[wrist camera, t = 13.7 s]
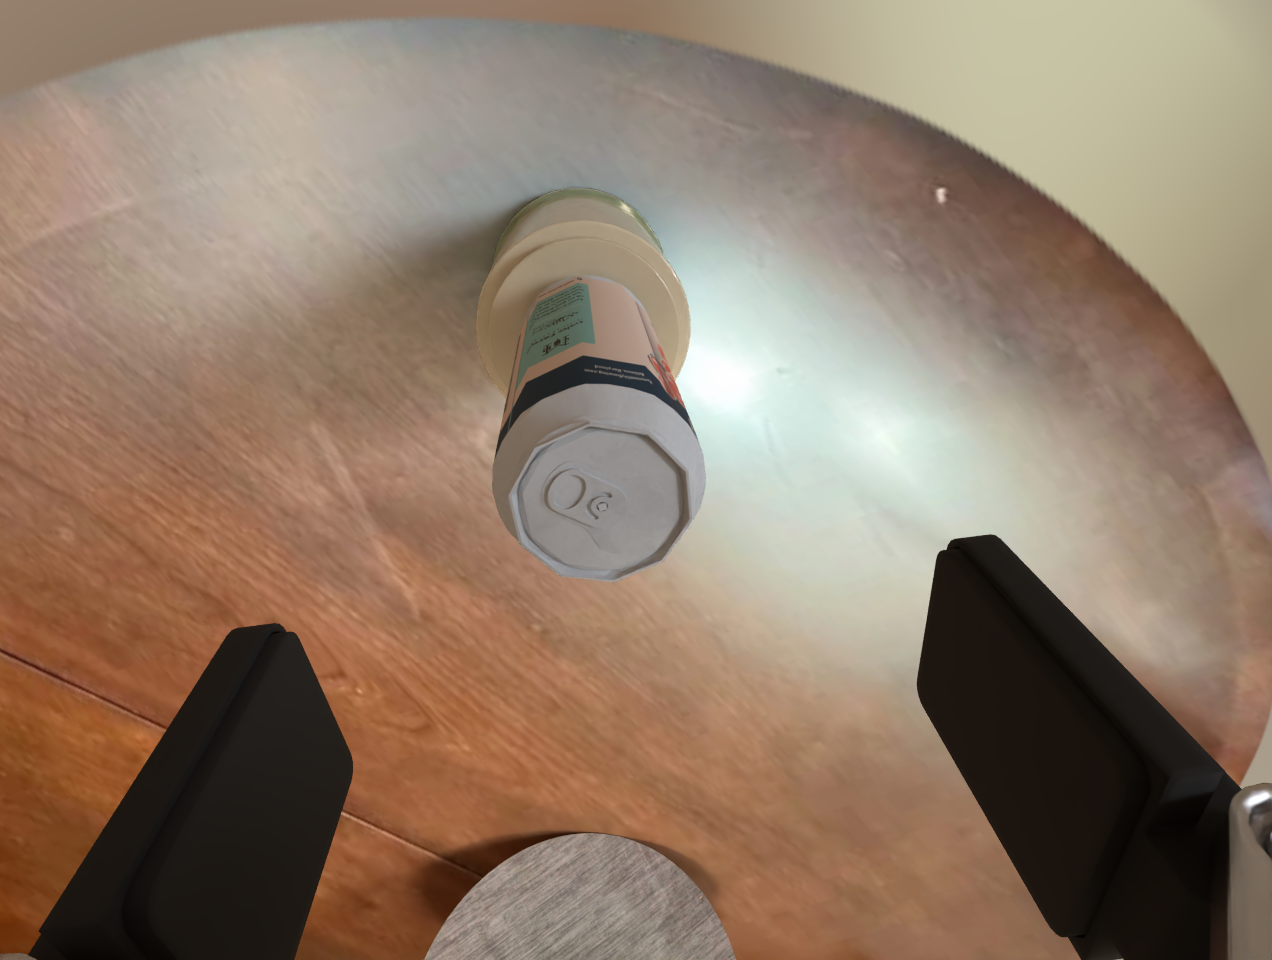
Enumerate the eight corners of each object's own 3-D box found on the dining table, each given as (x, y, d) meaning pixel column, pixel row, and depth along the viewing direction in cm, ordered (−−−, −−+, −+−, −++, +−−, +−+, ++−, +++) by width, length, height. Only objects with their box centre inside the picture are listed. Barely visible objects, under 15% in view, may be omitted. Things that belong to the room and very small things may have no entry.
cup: (578, 145, 30) (584, 160, 22) (700, 281, 34) (744, 339, 25) (456, 279, 33) (418, 338, 24) (581, 394, 36) (586, 481, 28)
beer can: (612, 419, 27) (642, 625, 16) (498, 365, 25) (451, 551, 15) (676, 312, 25) (757, 464, 14) (557, 245, 23) (551, 361, 13)
